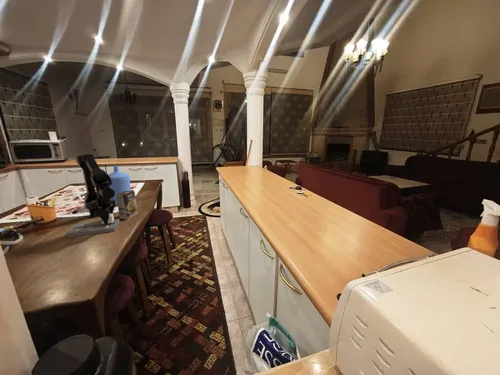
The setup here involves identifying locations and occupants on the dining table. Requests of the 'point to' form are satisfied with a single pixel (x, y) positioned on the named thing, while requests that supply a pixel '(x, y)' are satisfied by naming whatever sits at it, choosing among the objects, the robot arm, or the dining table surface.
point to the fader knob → (110, 219)
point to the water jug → (119, 182)
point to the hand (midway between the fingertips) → (108, 221)
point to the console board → (92, 228)
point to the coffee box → (126, 204)
